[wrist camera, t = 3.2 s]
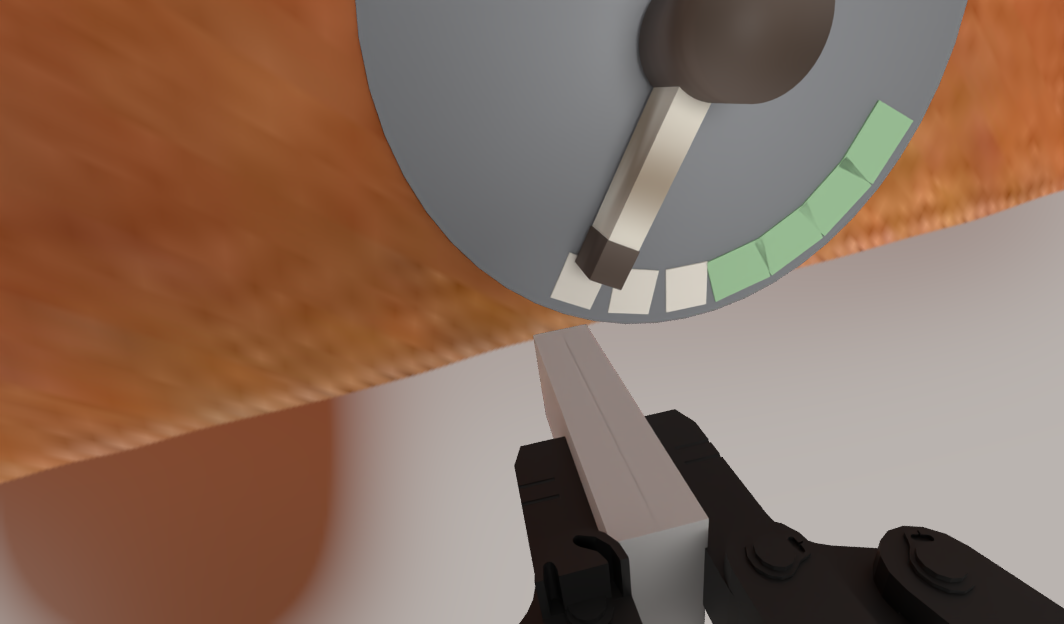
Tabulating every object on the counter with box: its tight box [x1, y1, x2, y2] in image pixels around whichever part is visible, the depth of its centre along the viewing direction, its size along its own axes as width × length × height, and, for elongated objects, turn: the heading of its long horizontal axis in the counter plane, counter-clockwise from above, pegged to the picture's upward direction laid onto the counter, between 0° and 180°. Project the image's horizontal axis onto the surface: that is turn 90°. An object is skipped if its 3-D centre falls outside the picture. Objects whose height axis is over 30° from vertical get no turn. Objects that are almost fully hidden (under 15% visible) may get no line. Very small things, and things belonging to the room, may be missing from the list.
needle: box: [575, 0, 835, 290], centre depth 19 cm, size 14×5×5 cm, turn 158°
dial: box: [355, 0, 967, 324], centre depth 20 cm, size 28×28×1 cm
